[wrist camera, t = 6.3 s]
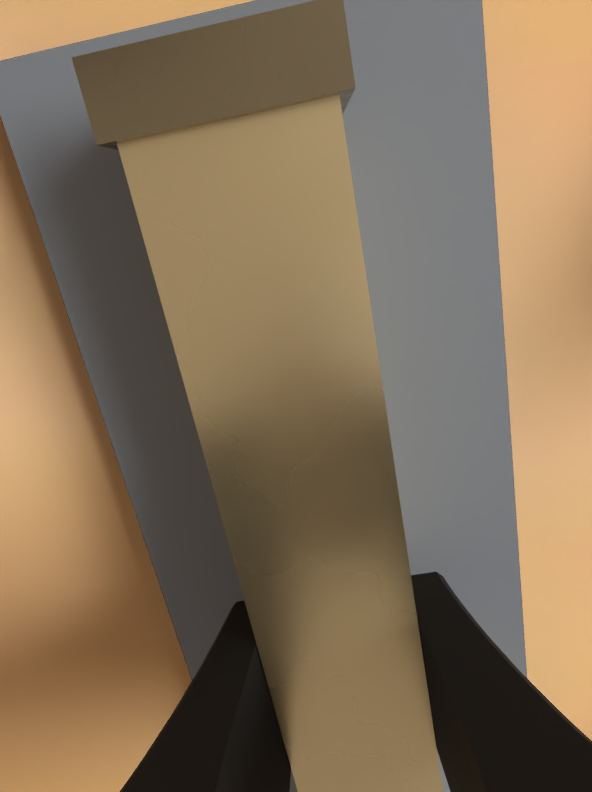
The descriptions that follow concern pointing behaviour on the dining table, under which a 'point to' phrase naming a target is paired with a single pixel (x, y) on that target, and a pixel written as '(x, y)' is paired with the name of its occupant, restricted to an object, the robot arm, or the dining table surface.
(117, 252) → the mat
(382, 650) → the rail
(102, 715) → the dining table surface
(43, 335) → the dining table surface
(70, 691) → the dining table surface
